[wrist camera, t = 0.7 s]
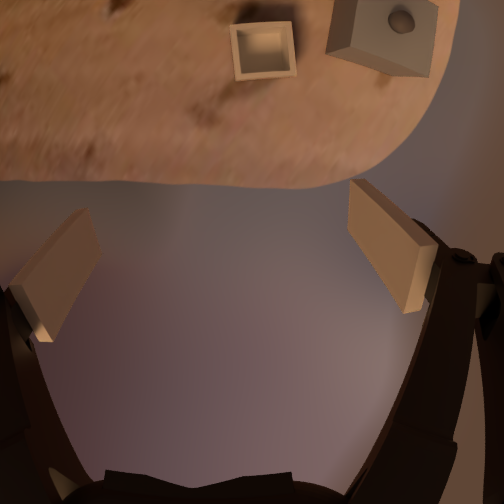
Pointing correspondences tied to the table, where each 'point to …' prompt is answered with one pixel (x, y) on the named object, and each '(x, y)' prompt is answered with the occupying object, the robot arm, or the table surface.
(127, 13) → the table surface
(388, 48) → the cover
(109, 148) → the table surface
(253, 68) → the beige tub
